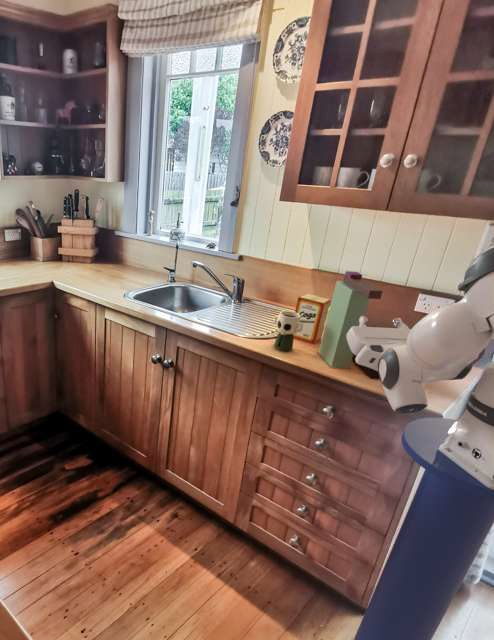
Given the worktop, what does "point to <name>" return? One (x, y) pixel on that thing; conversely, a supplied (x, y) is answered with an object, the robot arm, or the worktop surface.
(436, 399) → the worktop surface
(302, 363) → the worktop surface
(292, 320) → the character mug
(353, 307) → the green box
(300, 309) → the baking soda box
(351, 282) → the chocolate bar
